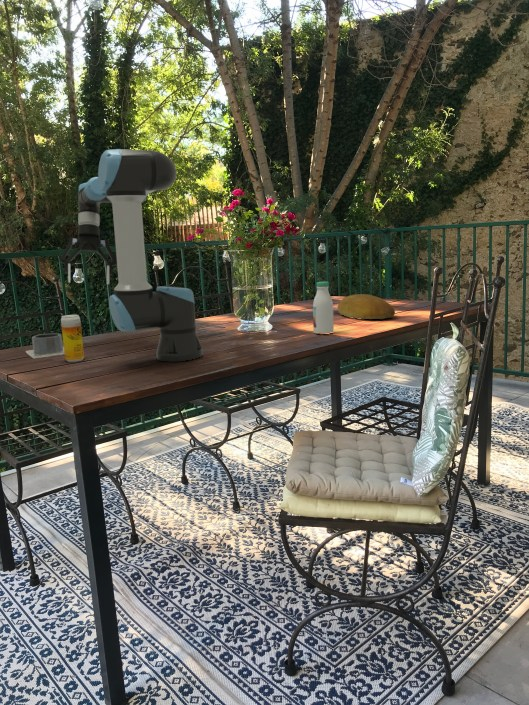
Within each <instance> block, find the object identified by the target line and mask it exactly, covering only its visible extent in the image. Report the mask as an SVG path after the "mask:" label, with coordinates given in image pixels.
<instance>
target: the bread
mask: <svg viewBox="0 0 529 705" xmlns="http://www.w3.org/2000/svg"><path fill="white" fill-rule="evenodd" d="M337 311H338V313H339V314H340V315H341V316H342V315H344V316H347V317H353V318H361V319H380V320H385V318H386V319H389V318H393V317H394V316H395V314H396V310H395V308H394V307H393V306H392V305H391V304H390V303H389V302H388V301H386V300H385V299H383V298H380V297H378V296H375V295H371V294H366V293H365V294H364V293H362V294H361V293H360V294H357V293H356V294H351V295H348V296H345V297H344V298H343V299H341V300H340V301H339V303H338V305H337ZM344 316H343V317H344ZM347 317H346V318H347Z"/></svg>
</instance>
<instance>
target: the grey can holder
mask: <svg viewBox="0 0 529 705" xmlns="http://www.w3.org/2000/svg"><path fill="white" fill-rule="evenodd" d="M31 341H32V342H31V343H32V349H29V350H25V353H26V354H27V355H28V356H29V357H31V358H32V359H33V360H34V359H42V358H47V357H55V356H62V355H65V353H64V344H63V335H62V334H61V333H54V332H53V333H41V334H36V335H33V336H32V337H31Z"/></svg>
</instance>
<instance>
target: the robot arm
mask: <svg viewBox="0 0 529 705" xmlns="http://www.w3.org/2000/svg"><path fill="white" fill-rule="evenodd" d="M176 179H177V169H176V166H175V163H174V161H173V160H172V159H171V158H170V157H168V155H166V154H164V153H162V152H161V151H157V150H150V149H149V150H145V149H144V150H142V149H141V150H140V149H128V148H127V149H125V148H124V149H123V148H122V149H121V148H116V149H106V150H104V151H103V153H101V156H100V160H99V164H98V172H97V176H94V177H91V178H90V179H88V181H87V182H84V183H81V184H79V186H78V192H77V196H78V197H77V198H78V200H77V201H78V203H77V204H78V214H77V215H78V216H77V217H78V218H77V220H78V221H77V224H78V229H77V231H78V232H77V233H78V234H77V238H74V237H72V236H70V237H69V238H68V243H67V245H66V247H65V249H64V251H63V253H62V254H61V256H60V257H59V263H60V264H64V272H65V274H67V283H68V284H70V283H71V262H72V261H73V260H74V259H75V258H76V257H77V256H78V254H80V253H81V252H82V251H84V252H91V253H92V252H95V253H96V254H98V255H99V257H100V258H101V259H102V260H103V262H105V263H106V285H110V276H113V267H115V266H117V267H116V269H117V279H118V283H117V284H116V286H115V287H114V289H113V291H114V294H112V295H110V296H109V298H108V301H109V302H108V306H109V312H110V315H111V319H112V322H113V324H114V325H115V327H116V329H117V330H119V331H121V332H123V333H124V332H136V331H143V330H152V329H159V333H160V334H159V335H160V336H159V339H158V340H159V341H158V344H157V349H156V352H155V353H156V359H157V360H158V361H162V362H186V360H188V361H192V359H193V360H197V359H200V358H202V357H203V356H202V355H204V351H203V347H202V345H201V342H200V340H199V336H198V334H197V328H196V325H197V324H196V307H195V304H196V303H195V302H196V301H195V296H194V292H193V290H192V289H190V288H188V287H187V288H186V287H180V286H179V287H177V286H157V287H156V289H155V290H156V291H153V286H152V285H151V284H150V282H149V283H148V279H147V278H148V277H147V276H148V275H147V264H146V254H145V252H146V251H145V250H146V249H145V237H144V236H145V235H144V223H143V222H144V221H143V207H142V203H144V202H145V201H146V200H147V198H148V195H150V194H152V193H154V192H156V191H157V192H162V191H165V190H167V189H169V188H171V187H172V186H173V185H174V183H175V182H176ZM102 203H103V204H105V203H110V204H111V205H112V206H111V207H112V214H113V215H112V216H113V229H114V242H115V255H116V256H115V255H114V253H113V251H112V249H111V246H110V243H109V239H107V238H106V239H103V240H101V239H100V217H101V216H100V205H101V204H102ZM76 243H77V245H78V247H77V248H76V249H75V250H73V252H72V253H71V254H70V255H69V256H68V254H69V252H70V250H71V249H72V246H73V245H75V244H76ZM100 245H102V246H103V247H104V248H105V251H106V252H107V254H108V256H109V257H107V255H106V254H105V253H104V251H103V250H102V248H100ZM67 256H68V257H67ZM109 258H110V259H111V260H110V259H109ZM201 356H202V357H201ZM199 357H200V358H199ZM196 358H197V359H196Z"/></svg>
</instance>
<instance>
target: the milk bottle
mask: <svg viewBox="0 0 529 705" xmlns="http://www.w3.org/2000/svg"><path fill="white" fill-rule="evenodd" d="M329 284H330V283H329V281H317V282H316V294H315V296H314V299H313V302H312V303H313V304H312V316H313V318H312V320H313V322H312V323H313V334H314V333H330V332H333V333H334V305H333V304H334V303H333V299H332V297H331V294H330V292H329Z"/></svg>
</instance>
